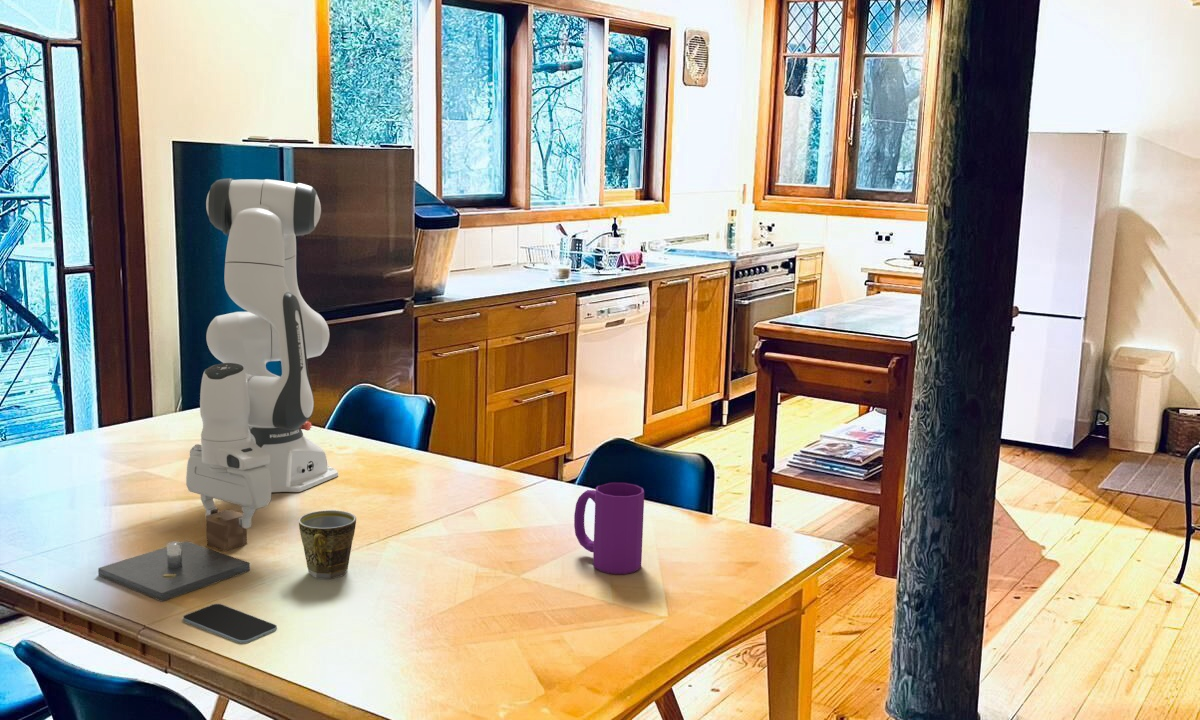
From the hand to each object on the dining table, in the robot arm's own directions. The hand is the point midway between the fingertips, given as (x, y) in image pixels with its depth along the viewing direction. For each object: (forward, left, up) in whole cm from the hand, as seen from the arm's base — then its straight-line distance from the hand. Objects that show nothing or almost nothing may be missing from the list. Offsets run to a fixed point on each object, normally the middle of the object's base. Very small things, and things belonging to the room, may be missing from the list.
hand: (228, 522), depth 217 cm
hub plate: (+15, +4, -5) cm, 16 cm away
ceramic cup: (-1, +25, -5) cm, 26 cm away
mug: (-38, +60, -5) cm, 71 cm away
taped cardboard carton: (0, -1, -5) cm, 5 cm away
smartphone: (+23, +29, -5) cm, 37 cm away
